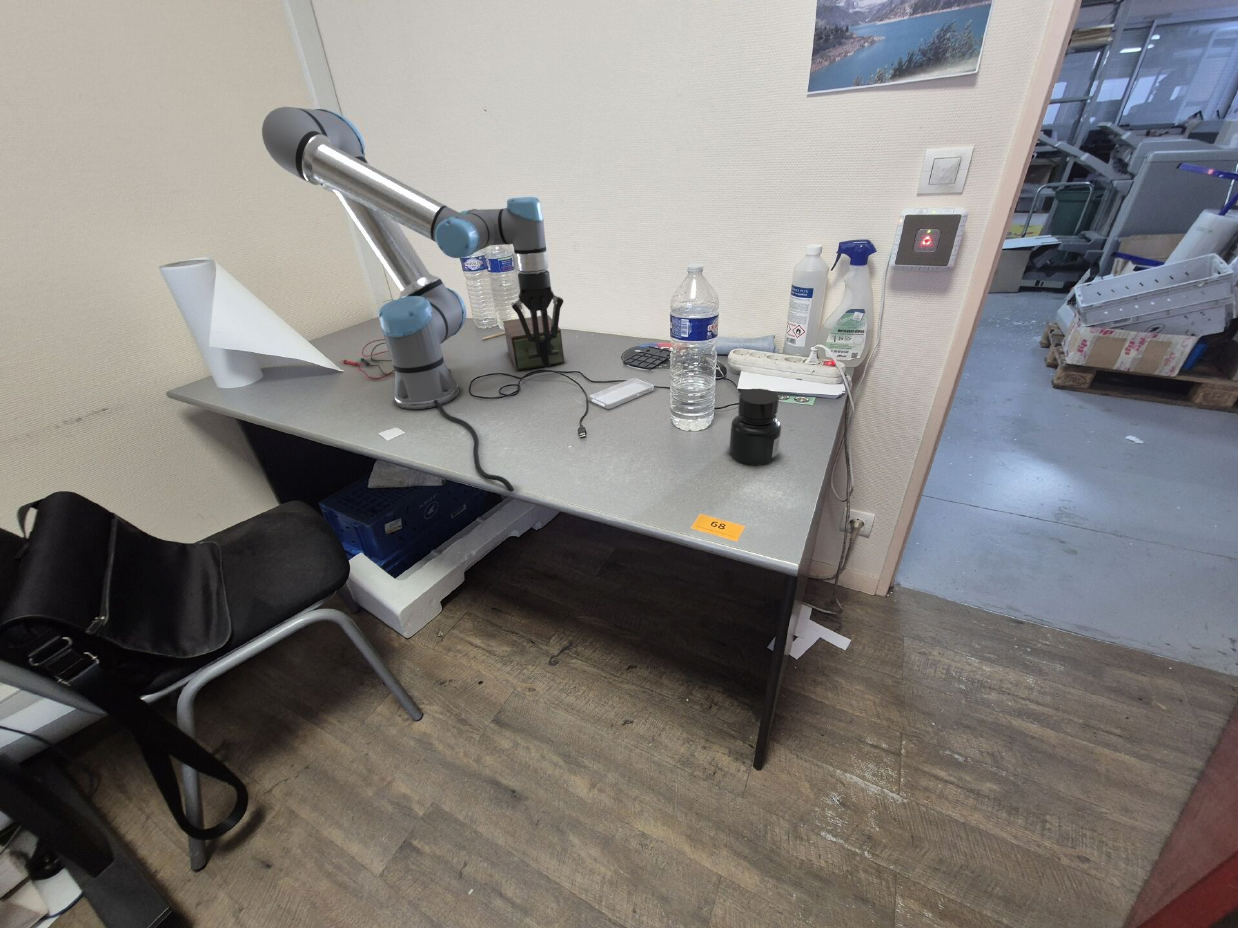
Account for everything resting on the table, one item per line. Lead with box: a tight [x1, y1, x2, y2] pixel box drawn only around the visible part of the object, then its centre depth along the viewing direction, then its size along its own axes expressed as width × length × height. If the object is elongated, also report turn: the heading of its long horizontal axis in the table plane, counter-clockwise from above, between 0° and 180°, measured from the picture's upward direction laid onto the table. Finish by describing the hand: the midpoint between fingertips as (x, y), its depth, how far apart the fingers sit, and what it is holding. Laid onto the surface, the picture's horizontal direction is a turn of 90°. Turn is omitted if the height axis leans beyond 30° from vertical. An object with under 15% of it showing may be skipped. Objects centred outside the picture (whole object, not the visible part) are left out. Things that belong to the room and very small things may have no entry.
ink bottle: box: [729, 388, 782, 466], centre depth 92 cm, size 10×9×12 cm
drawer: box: [514, 333, 563, 369], centre depth 141 cm, size 22×12×8 cm, turn 19°
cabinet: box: [502, 314, 565, 372], centre depth 145 cm, size 17×14×10 cm
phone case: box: [588, 377, 655, 410], centre depth 121 cm, size 7×1×15 cm
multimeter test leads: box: [339, 338, 395, 380], centre depth 149 cm, size 23×4×25 cm
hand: (545, 365), depth 131 cm, fingers closed
